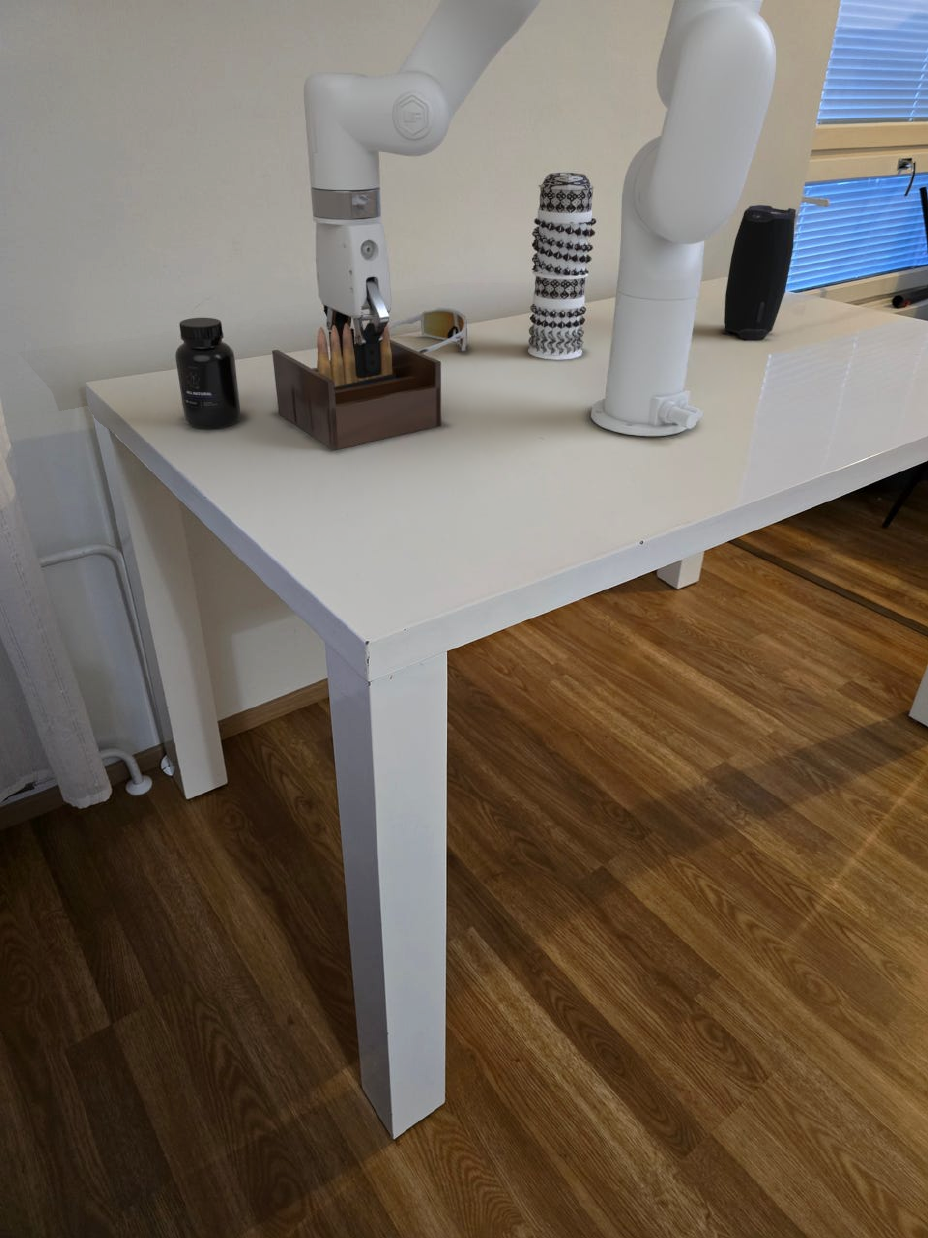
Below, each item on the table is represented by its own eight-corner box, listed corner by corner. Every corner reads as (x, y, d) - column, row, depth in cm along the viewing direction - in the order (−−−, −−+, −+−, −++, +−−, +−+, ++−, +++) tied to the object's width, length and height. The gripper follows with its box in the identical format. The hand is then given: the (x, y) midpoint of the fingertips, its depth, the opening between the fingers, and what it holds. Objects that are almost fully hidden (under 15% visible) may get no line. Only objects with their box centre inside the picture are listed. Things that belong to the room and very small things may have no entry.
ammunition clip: (326, 430, 103) (318, 330, 96) (318, 426, 104) (309, 326, 98) (397, 412, 109) (394, 316, 102) (389, 409, 110) (385, 313, 103)
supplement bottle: (192, 433, 102) (175, 331, 95) (180, 416, 107) (163, 318, 100) (248, 425, 104) (235, 325, 98) (234, 408, 109) (221, 312, 103)
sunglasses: (486, 351, 133) (483, 319, 130) (405, 379, 127) (400, 347, 124) (437, 331, 143) (433, 301, 140) (360, 357, 137) (354, 326, 134)
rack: (441, 425, 105) (441, 361, 101) (333, 450, 98) (327, 381, 93) (380, 393, 115) (378, 333, 111) (278, 413, 108) (271, 350, 104)
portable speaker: (720, 326, 149) (742, 203, 138) (776, 331, 146) (802, 206, 136) (716, 337, 142) (738, 209, 132) (774, 343, 140) (801, 212, 129)
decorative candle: (587, 360, 130) (604, 178, 116) (527, 359, 130) (537, 176, 116) (581, 344, 137) (596, 171, 124) (524, 343, 137) (533, 170, 124)
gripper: (416, 212, 89) (419, 382, 99) (340, 195, 101) (349, 348, 111) (353, 217, 85) (363, 393, 95) (282, 199, 97) (297, 357, 107)
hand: (355, 367), depth 103 cm, fingers open, 5 cm apart
